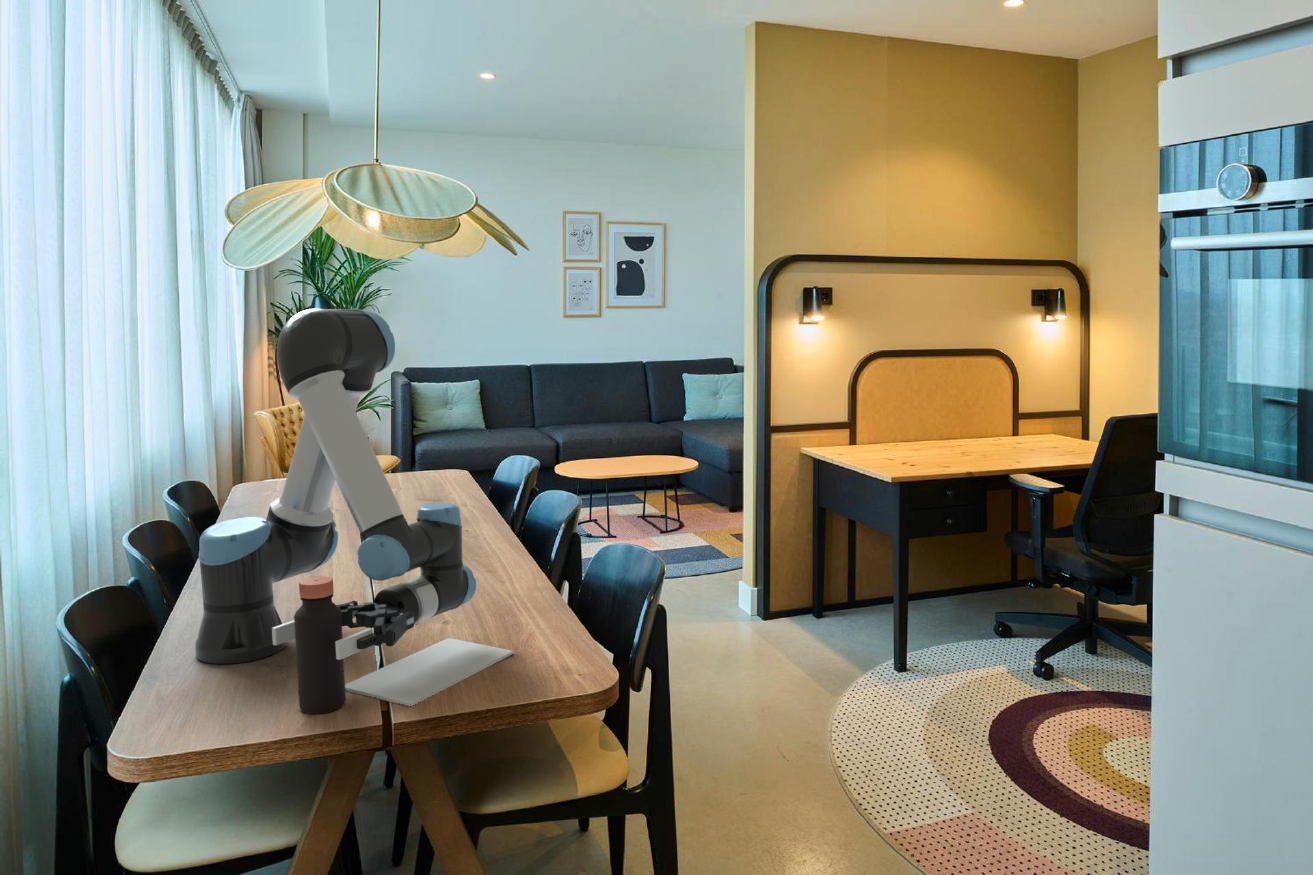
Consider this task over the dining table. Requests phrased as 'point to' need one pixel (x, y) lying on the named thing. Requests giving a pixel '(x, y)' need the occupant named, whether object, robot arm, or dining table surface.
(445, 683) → the mat
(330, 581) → the vinegar
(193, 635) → the dining table surface
